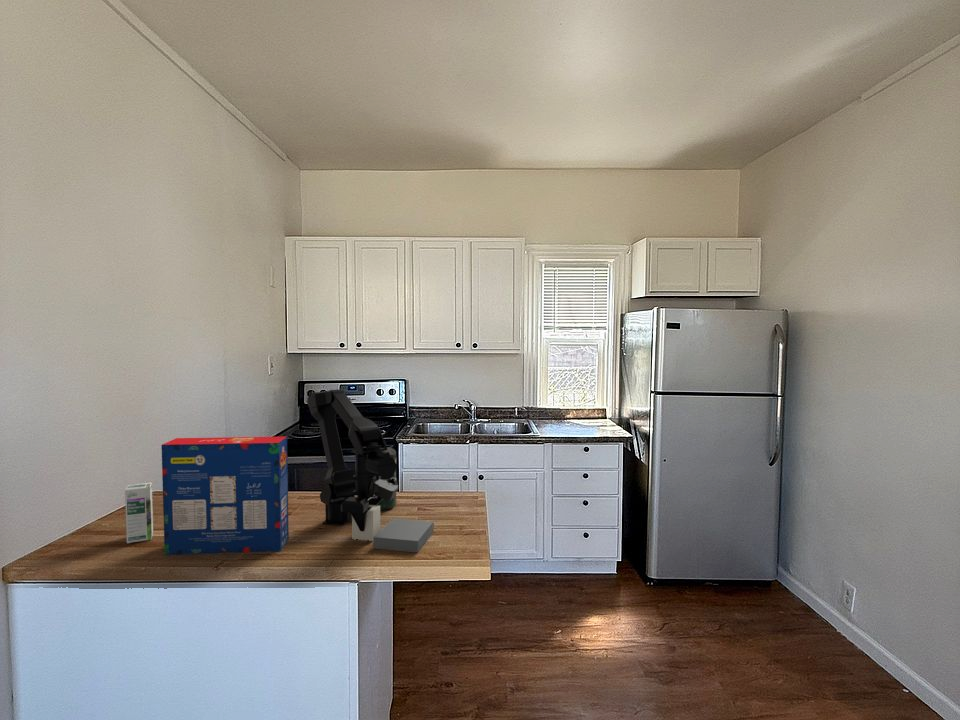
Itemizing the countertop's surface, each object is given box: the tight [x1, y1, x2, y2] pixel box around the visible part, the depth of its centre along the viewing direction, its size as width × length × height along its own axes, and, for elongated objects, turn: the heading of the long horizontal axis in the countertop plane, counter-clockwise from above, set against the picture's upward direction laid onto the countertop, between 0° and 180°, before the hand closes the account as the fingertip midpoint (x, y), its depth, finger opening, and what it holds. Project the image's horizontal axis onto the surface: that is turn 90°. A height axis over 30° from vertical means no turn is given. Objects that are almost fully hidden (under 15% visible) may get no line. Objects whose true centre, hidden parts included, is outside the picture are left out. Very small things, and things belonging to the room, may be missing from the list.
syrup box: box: [124, 481, 154, 544], centre depth 142 cm, size 6×6×14 cm
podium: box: [372, 518, 435, 554], centre depth 142 cm, size 12×14×3 cm
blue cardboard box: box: [160, 435, 290, 556], centre depth 136 cm, size 28×8×28 cm, turn 96°
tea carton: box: [351, 505, 381, 542], centre depth 144 cm, size 6×5×8 cm
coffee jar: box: [378, 446, 397, 511], centre depth 169 cm, size 10×8×19 cm
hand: (366, 527), depth 144 cm, fingers closed on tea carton, 5 cm apart
